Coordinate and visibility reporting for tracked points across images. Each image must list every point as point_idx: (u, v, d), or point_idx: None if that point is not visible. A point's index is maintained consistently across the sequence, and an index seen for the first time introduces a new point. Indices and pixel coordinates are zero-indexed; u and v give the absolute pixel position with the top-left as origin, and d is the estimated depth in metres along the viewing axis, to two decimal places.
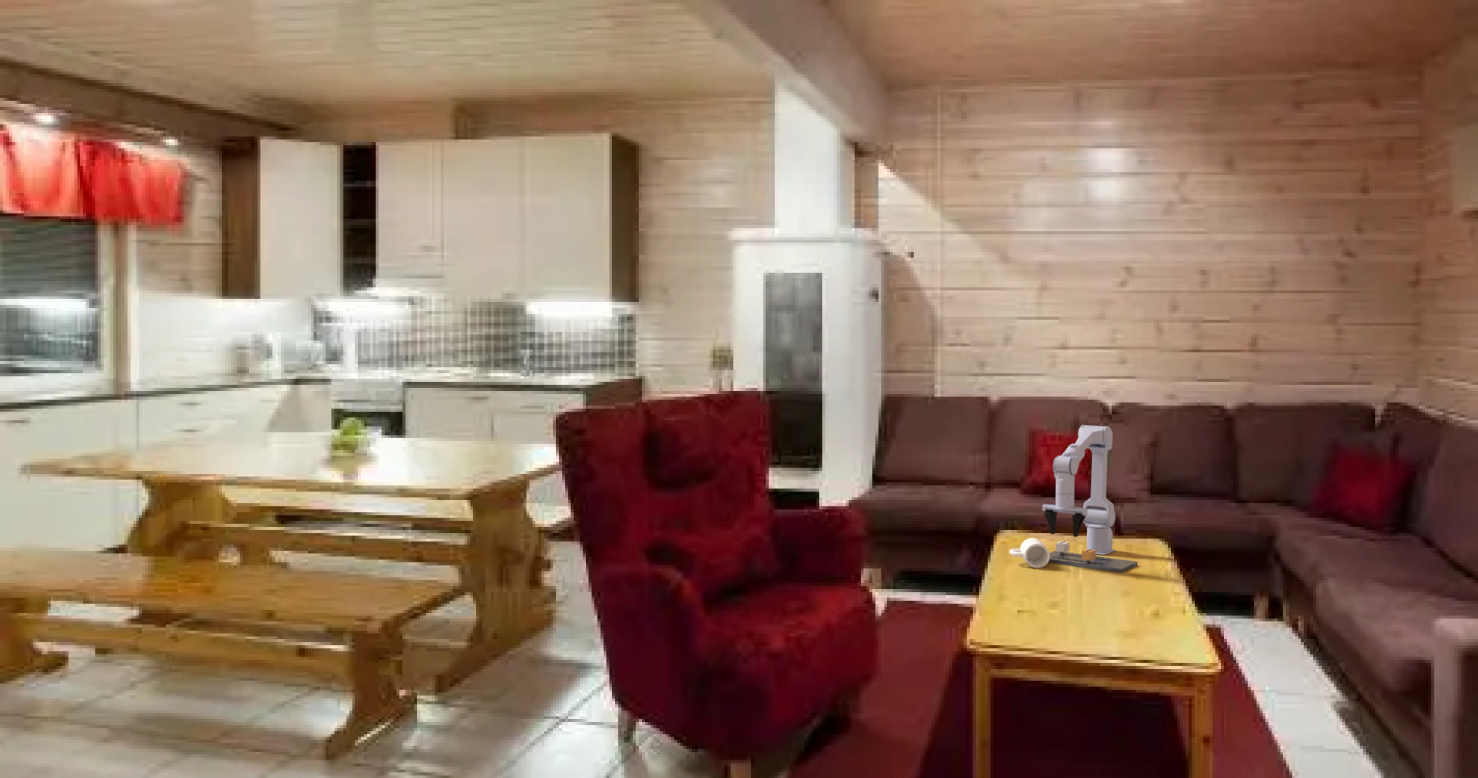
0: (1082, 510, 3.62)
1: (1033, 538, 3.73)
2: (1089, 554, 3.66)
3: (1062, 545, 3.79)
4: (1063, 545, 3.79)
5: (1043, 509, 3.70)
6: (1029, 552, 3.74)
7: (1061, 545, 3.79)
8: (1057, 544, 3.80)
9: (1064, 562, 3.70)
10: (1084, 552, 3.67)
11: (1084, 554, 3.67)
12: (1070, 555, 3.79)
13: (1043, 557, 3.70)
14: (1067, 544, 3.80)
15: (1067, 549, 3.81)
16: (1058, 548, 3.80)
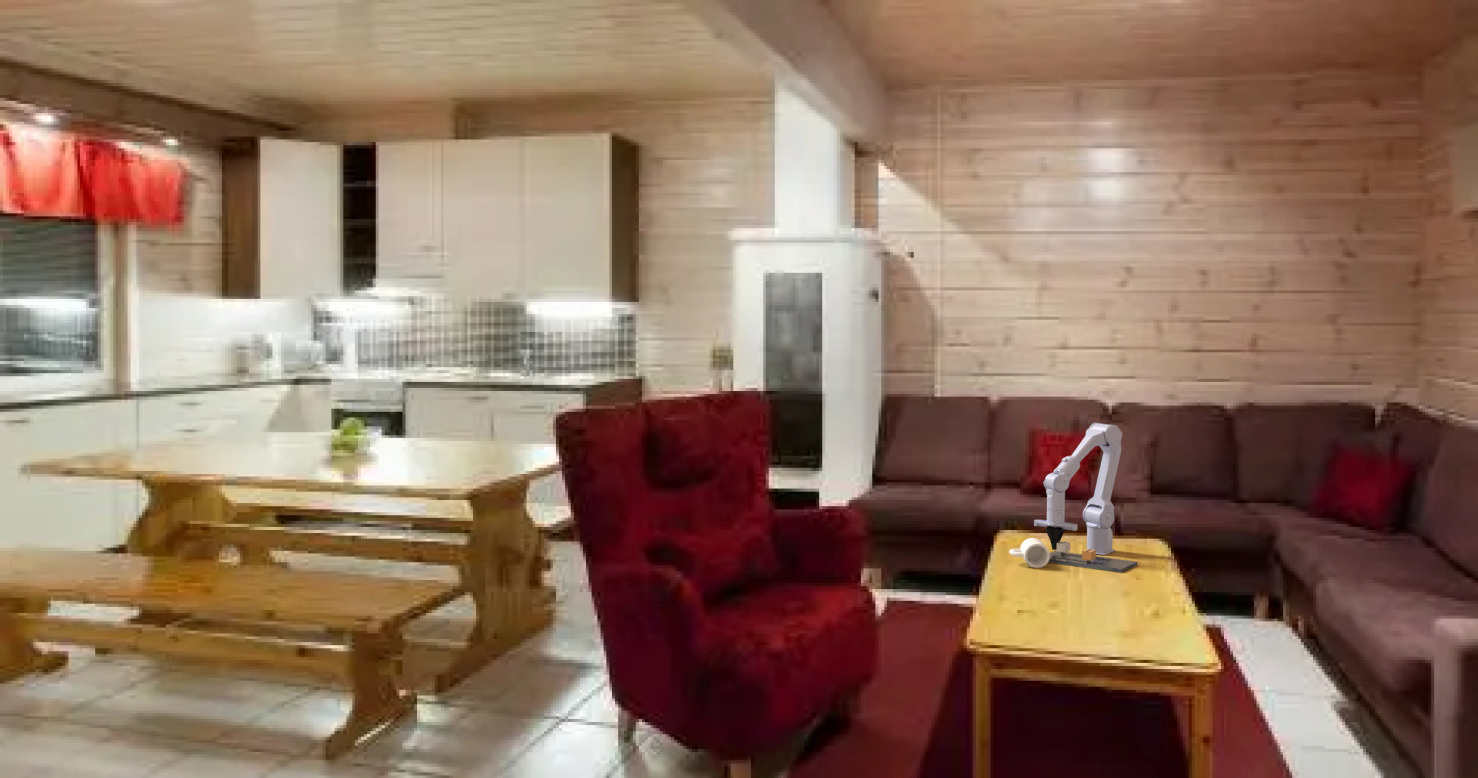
0: (1072, 526, 3.77)
1: (1033, 538, 3.73)
2: (1089, 554, 3.66)
3: (1063, 545, 3.79)
4: (1064, 545, 3.78)
5: (1035, 524, 3.86)
6: (1029, 552, 3.74)
7: (1062, 545, 3.79)
8: (1058, 544, 3.80)
9: (1064, 562, 3.70)
10: (1084, 552, 3.67)
11: (1084, 554, 3.67)
12: (1070, 555, 3.79)
13: (1043, 557, 3.70)
14: (1068, 544, 3.80)
15: (1068, 549, 3.80)
16: (1059, 548, 3.80)
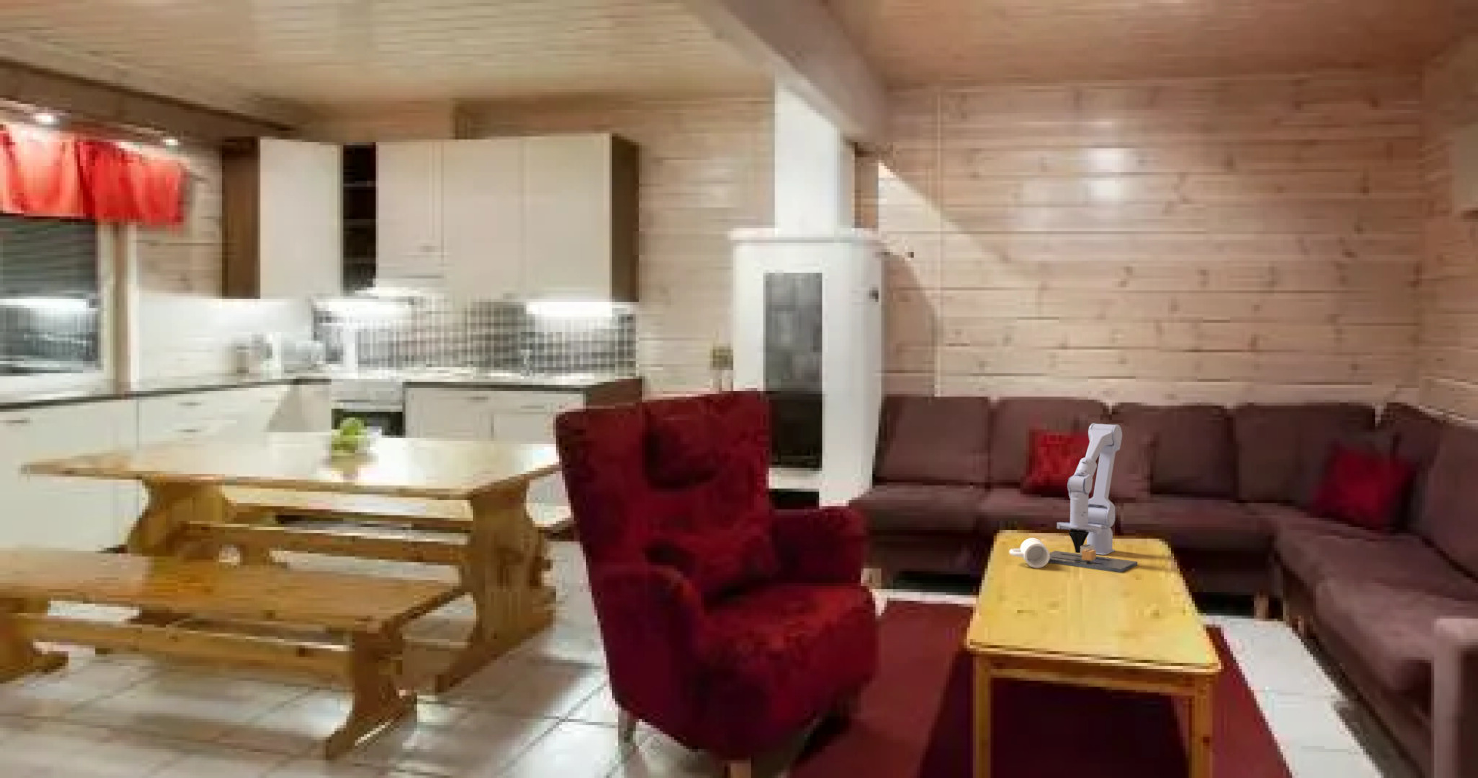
0: (1096, 528, 3.72)
1: (1033, 538, 3.73)
2: (1089, 554, 3.66)
3: (1087, 548, 3.73)
4: (1088, 548, 3.73)
5: (1058, 527, 3.81)
6: (1029, 552, 3.74)
7: (1086, 548, 3.74)
8: (1082, 547, 3.75)
9: (1064, 562, 3.70)
10: (1084, 552, 3.67)
11: (1084, 554, 3.67)
12: (1070, 555, 3.79)
13: (1043, 557, 3.70)
14: (1092, 547, 3.75)
15: None
16: None
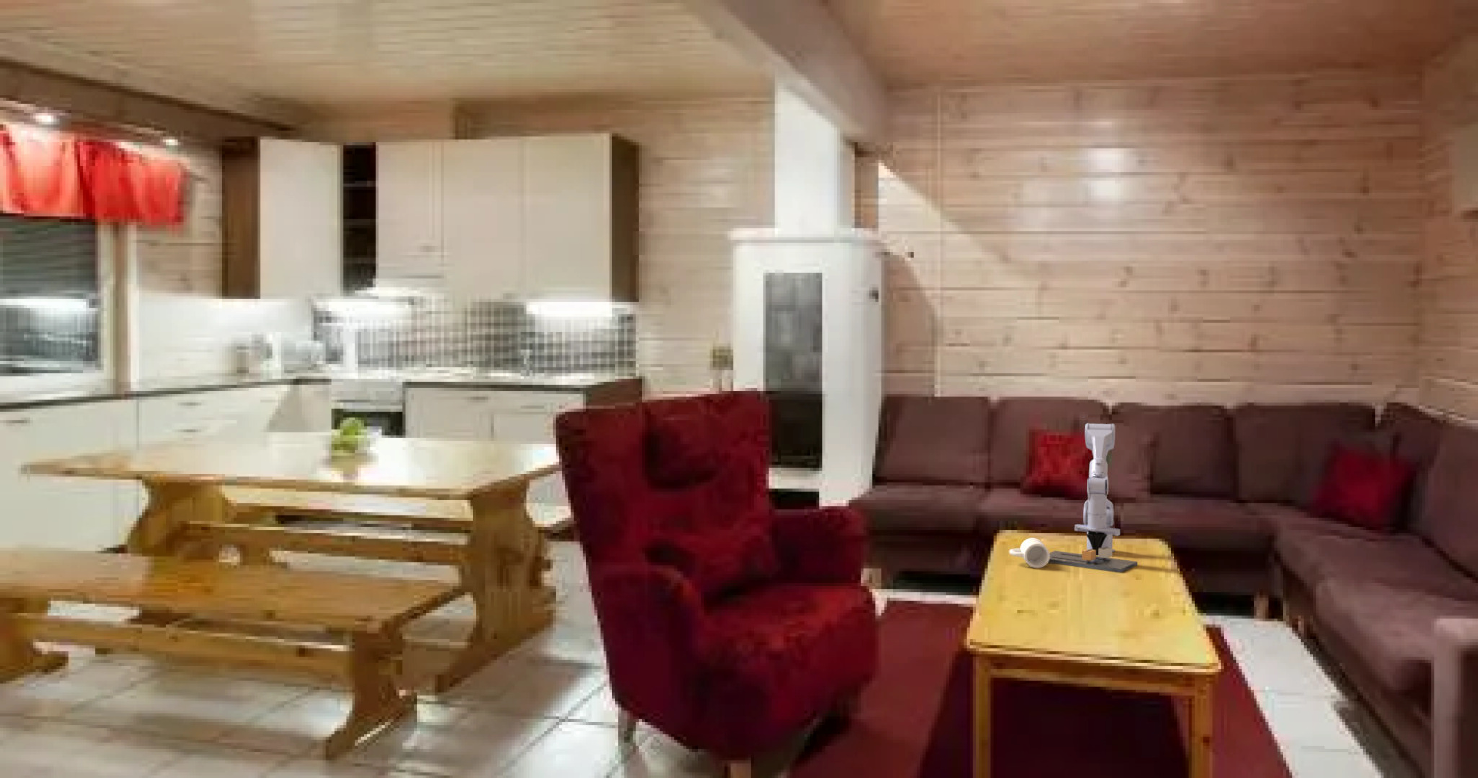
0: (1114, 530, 3.68)
1: (1033, 538, 3.73)
2: (1089, 554, 3.66)
3: (1105, 551, 3.70)
4: (1106, 551, 3.69)
5: (1075, 529, 3.77)
6: (1029, 552, 3.74)
7: (1104, 551, 3.70)
8: (1100, 550, 3.71)
9: (1064, 562, 3.70)
10: (1084, 552, 3.67)
11: (1084, 554, 3.67)
12: (1070, 555, 3.79)
13: (1043, 557, 3.70)
14: (1110, 550, 3.71)
15: (1110, 555, 3.71)
16: (1101, 554, 3.70)
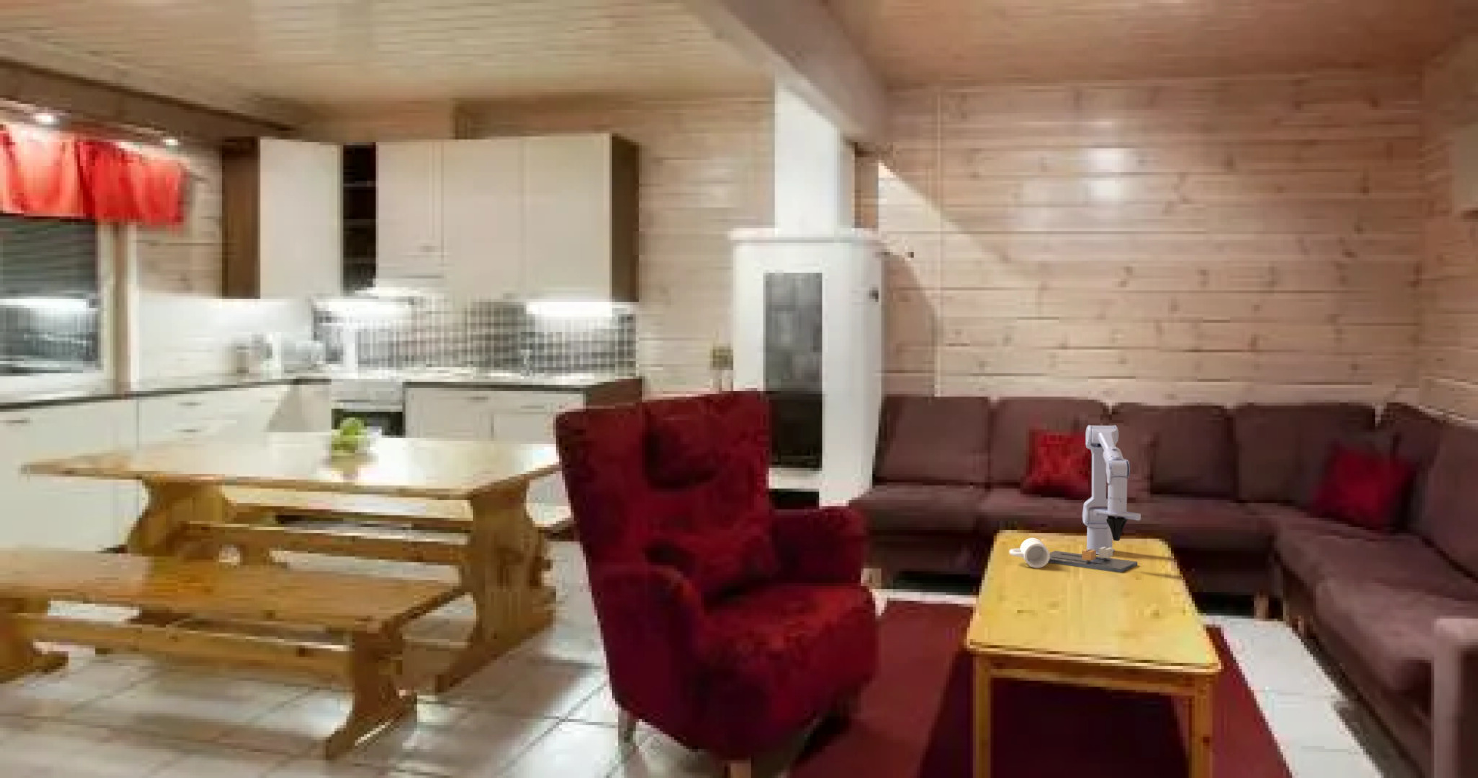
0: (1135, 515, 3.57)
1: (1033, 538, 3.73)
2: (1089, 554, 3.66)
3: (1106, 551, 3.69)
4: (1107, 551, 3.69)
5: (1094, 514, 3.65)
6: (1029, 552, 3.74)
7: (1105, 551, 3.70)
8: (1100, 550, 3.70)
9: (1064, 562, 3.70)
10: (1084, 552, 3.67)
11: (1084, 554, 3.67)
12: (1070, 555, 3.79)
13: (1043, 557, 3.70)
14: (1111, 550, 3.71)
15: (1111, 555, 3.71)
16: (1101, 554, 3.70)
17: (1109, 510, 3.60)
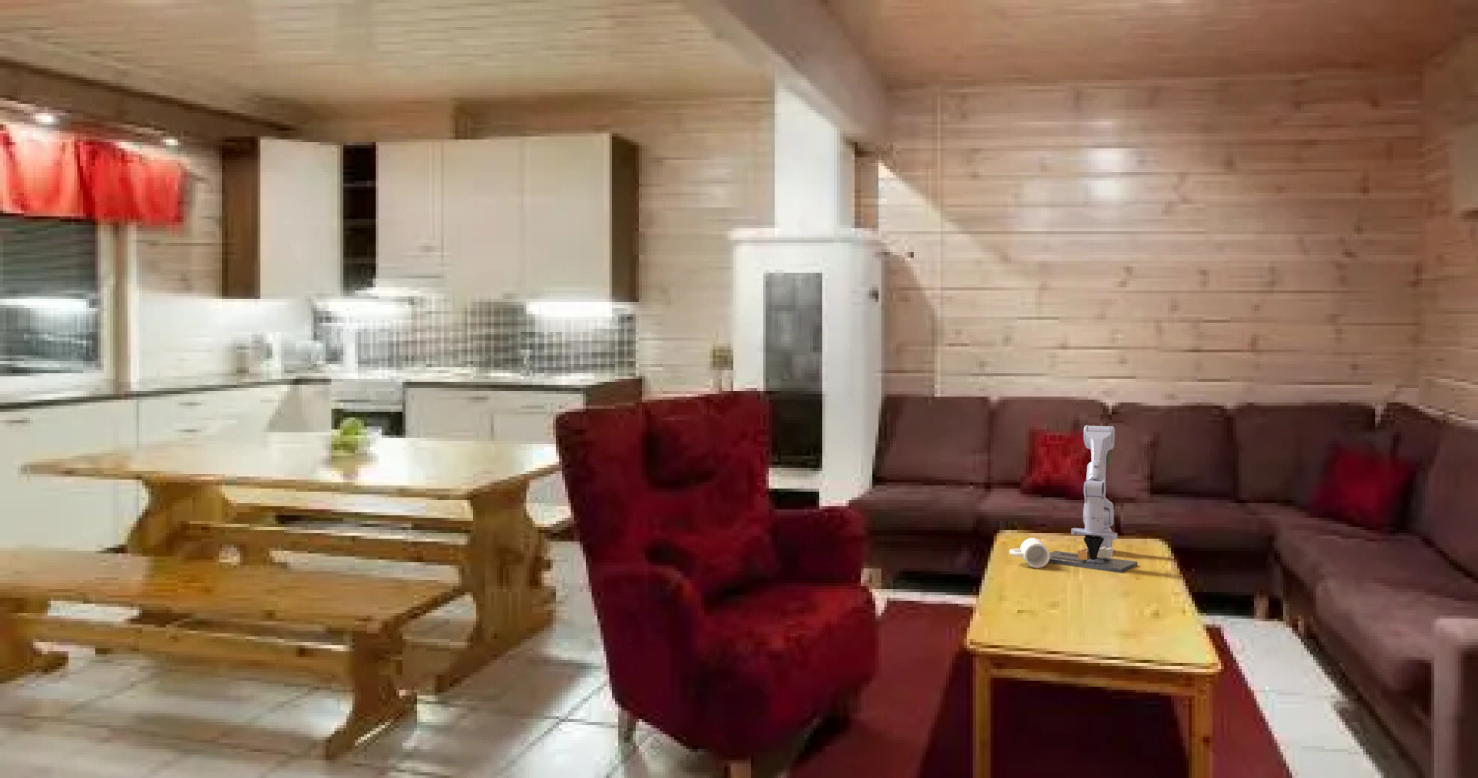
0: (1112, 534, 3.62)
1: (1033, 538, 3.73)
2: (1085, 553, 3.67)
3: (1106, 551, 3.69)
4: (1107, 551, 3.69)
5: (1072, 533, 3.70)
6: (1029, 552, 3.74)
7: (1105, 551, 3.70)
8: (1100, 550, 3.70)
9: (1064, 562, 3.70)
10: (1080, 551, 3.68)
11: (1080, 553, 3.68)
12: (1070, 555, 3.79)
13: (1043, 557, 3.70)
14: (1111, 550, 3.71)
15: (1111, 555, 3.71)
16: (1101, 554, 3.70)
17: (1086, 529, 3.66)
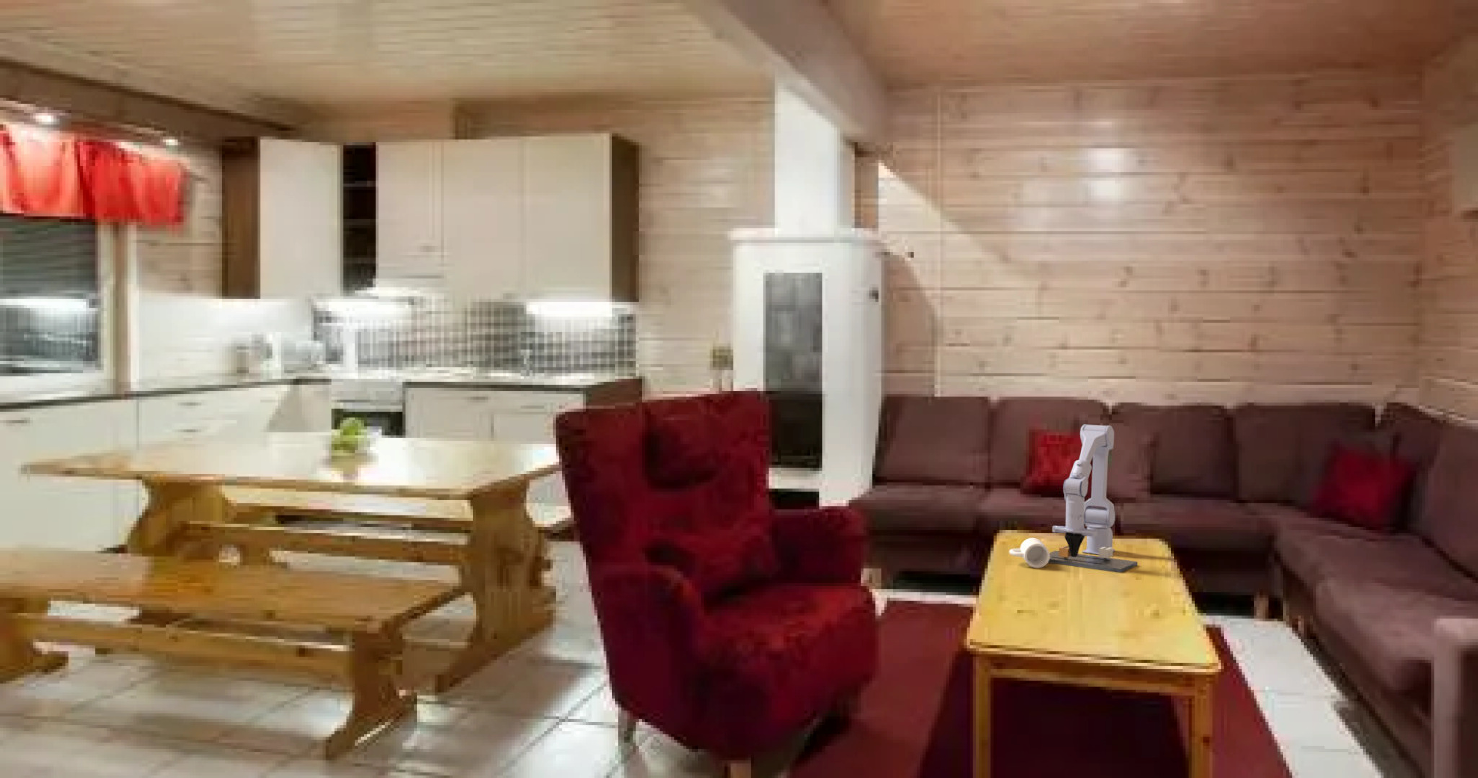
0: (1092, 532, 3.66)
1: (1033, 538, 3.73)
2: (1066, 551, 3.71)
3: (1106, 551, 3.69)
4: (1107, 551, 3.69)
5: (1053, 530, 3.74)
6: (1029, 552, 3.74)
7: (1105, 551, 3.70)
8: (1100, 550, 3.70)
9: (1064, 562, 3.70)
10: (1061, 549, 3.72)
11: (1061, 551, 3.72)
12: None
13: (1043, 557, 3.70)
14: (1111, 550, 3.71)
15: (1111, 555, 3.71)
16: (1101, 554, 3.70)
17: (1067, 527, 3.70)
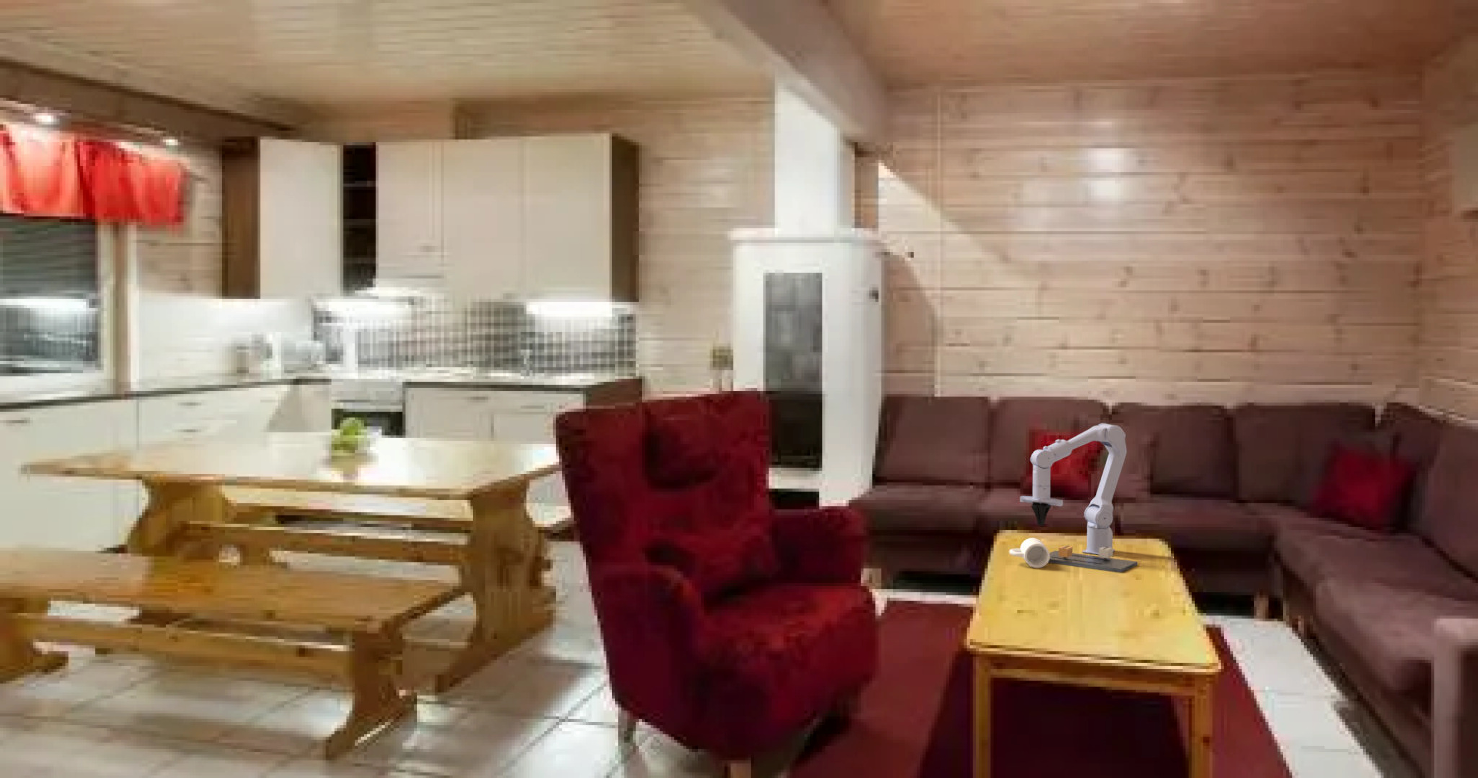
0: (1057, 501, 3.81)
1: (1033, 538, 3.73)
2: (1066, 551, 3.71)
3: (1106, 551, 3.69)
4: (1107, 551, 3.69)
5: (1021, 500, 3.89)
6: (1029, 552, 3.74)
7: (1105, 551, 3.70)
8: (1100, 550, 3.70)
9: (1064, 562, 3.70)
10: (1061, 549, 3.72)
11: (1061, 551, 3.72)
12: None
13: (1043, 557, 3.70)
14: (1111, 550, 3.71)
15: (1111, 555, 3.71)
16: (1101, 554, 3.70)
17: (1034, 497, 3.85)
